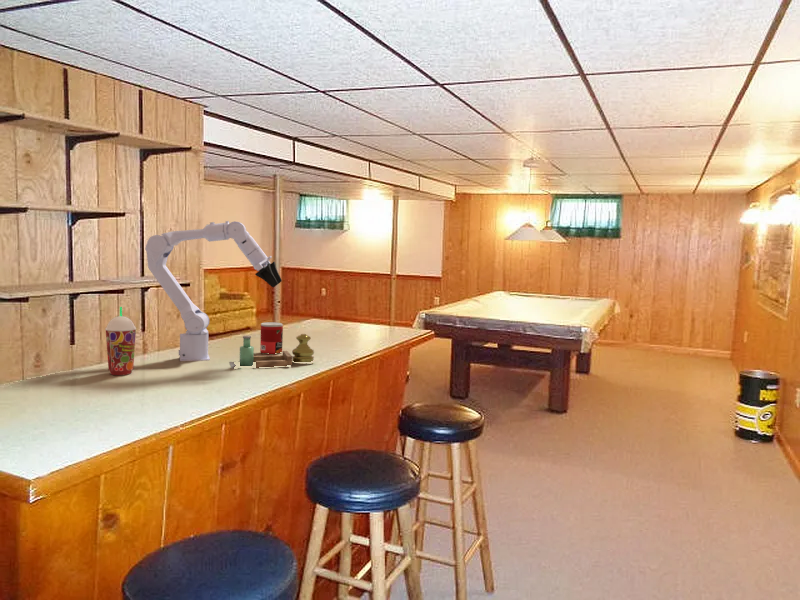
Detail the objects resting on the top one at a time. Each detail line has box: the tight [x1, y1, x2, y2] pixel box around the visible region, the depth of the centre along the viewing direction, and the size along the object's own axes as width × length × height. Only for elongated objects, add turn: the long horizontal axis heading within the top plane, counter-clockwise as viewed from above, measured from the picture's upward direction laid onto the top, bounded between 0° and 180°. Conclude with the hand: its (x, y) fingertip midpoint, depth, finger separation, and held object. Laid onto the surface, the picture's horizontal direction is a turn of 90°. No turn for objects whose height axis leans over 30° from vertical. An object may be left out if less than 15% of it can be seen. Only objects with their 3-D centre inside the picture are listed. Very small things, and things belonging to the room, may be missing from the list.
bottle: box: [239, 335, 255, 366], centre depth 197 cm, size 4×4×10 cm
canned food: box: [259, 321, 284, 355], centre depth 220 cm, size 8×8×11 cm
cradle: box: [228, 350, 293, 370], centre depth 199 cm, size 19×12×4 cm, turn 110°
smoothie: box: [104, 306, 137, 376], centre depth 179 cm, size 8×8×20 cm
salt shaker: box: [291, 333, 315, 362], centre depth 205 cm, size 7×7×10 cm
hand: (277, 284), depth 206 cm, fingers open, 7 cm apart
